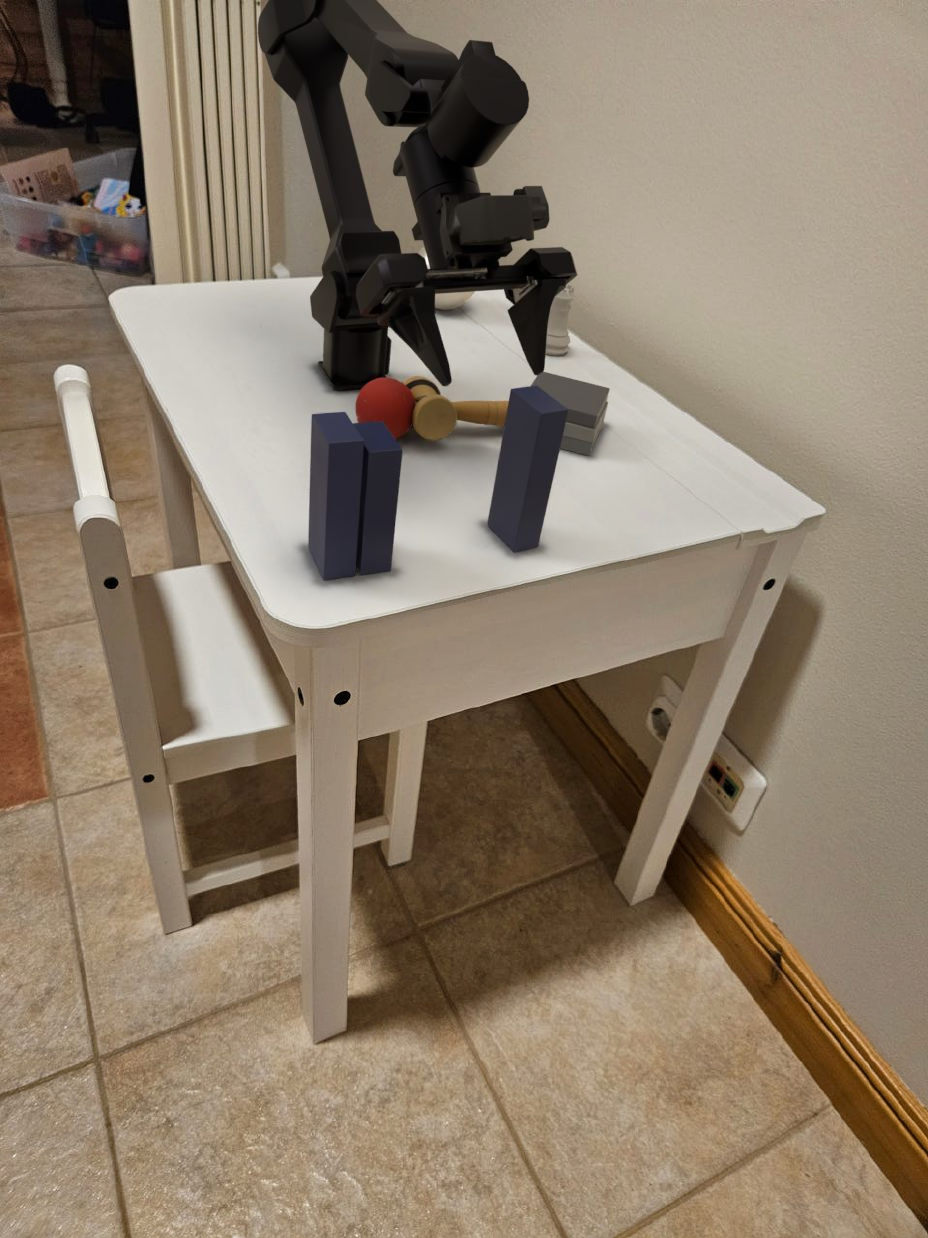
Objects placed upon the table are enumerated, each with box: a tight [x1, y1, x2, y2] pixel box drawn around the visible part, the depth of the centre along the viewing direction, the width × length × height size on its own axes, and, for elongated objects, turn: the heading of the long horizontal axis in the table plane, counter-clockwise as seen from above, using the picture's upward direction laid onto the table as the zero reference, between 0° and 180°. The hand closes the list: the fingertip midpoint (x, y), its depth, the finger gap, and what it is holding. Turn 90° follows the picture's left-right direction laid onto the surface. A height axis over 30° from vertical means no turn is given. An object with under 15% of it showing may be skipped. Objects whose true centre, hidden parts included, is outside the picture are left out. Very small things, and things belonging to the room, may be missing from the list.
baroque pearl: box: [417, 246, 476, 311], centre depth 116 cm, size 9×10×10 cm
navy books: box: [307, 411, 404, 581], centre depth 68 cm, size 6×4×12 cm
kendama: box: [354, 375, 509, 441], centre depth 89 cm, size 8×6×18 cm
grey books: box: [530, 371, 611, 457], centre depth 93 cm, size 8×8×4 cm
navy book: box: [486, 385, 568, 553], centre depth 73 cm, size 3×4×13 cm, turn 30°
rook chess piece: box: [545, 283, 576, 357], centre depth 110 cm, size 4×4×8 cm
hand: (494, 378), depth 74 cm, fingers open, 9 cm apart
